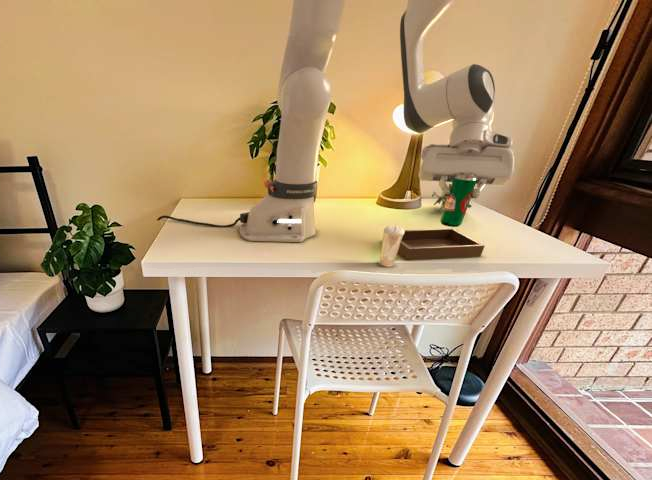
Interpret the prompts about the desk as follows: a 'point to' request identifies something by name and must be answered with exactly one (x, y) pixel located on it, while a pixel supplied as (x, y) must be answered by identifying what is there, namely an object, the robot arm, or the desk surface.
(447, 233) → the tray
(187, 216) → the desk surface
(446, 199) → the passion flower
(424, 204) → the desk surface
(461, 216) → the soda can
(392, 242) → the milkshake
